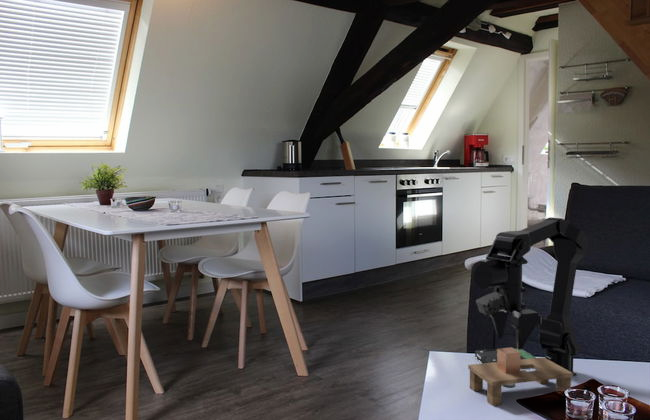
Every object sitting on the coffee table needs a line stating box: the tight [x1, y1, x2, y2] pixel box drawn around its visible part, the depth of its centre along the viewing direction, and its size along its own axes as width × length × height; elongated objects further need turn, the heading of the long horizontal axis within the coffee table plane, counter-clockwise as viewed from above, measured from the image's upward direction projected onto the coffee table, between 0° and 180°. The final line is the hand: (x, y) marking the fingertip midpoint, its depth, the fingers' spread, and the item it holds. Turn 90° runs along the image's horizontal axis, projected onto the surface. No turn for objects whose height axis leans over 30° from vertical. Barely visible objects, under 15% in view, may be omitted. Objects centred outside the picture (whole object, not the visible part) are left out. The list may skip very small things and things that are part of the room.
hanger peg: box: [497, 347, 521, 389], centre depth 147 cm, size 4×4×9 cm
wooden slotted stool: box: [467, 357, 574, 406], centre depth 148 cm, size 22×12×6 cm, turn 103°
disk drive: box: [474, 347, 537, 364], centre depth 170 cm, size 10×3×15 cm
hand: (509, 343), depth 148 cm, fingers open, 9 cm apart
